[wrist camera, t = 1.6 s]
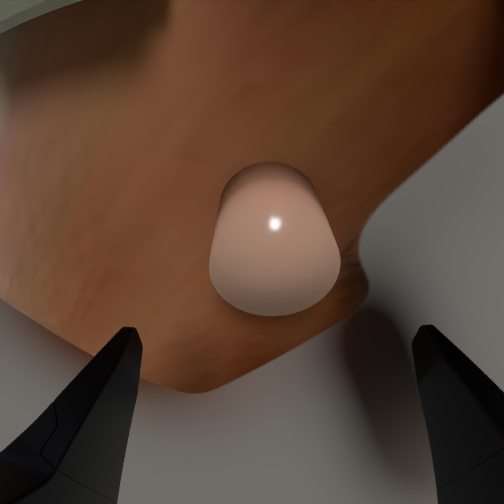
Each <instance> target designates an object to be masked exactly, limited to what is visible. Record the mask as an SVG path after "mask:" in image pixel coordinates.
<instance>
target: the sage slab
mask: <svg viewBox="0 0 504 504" xmlns="http://www.w3.org/2000/svg"><path fill="white" fill-rule="evenodd" d="M79 1H82V0H0V34H1V33H3V32H5V31H7V30H9V29H11V28H13V27H15V26H17V25H20V24H22V23H24V22H26V21H29V20H31V19H33V18H36V17H38V16H40V15H43V14H45V13H48V12H51V11H53V10H56V9H59V8H61V7H64V6H67V5H70V4H73V3H76V2H79Z"/></svg>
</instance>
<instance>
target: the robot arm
mask: <svg viewBox="0 0 504 504" xmlns="http://www.w3.org/2000/svg"><path fill="white" fill-rule="evenodd" d="M142 351H143V347H142V342H141V340H140V337H139V334H138V332H137V329H136V328H134V327H123V328H121V329H120V330H119V331H118V332H117V333H116V334H115V335H114V336H113V338H112V339H111V340H110V341H109V342H108V343H107V344H106V345H105V346H104V347H103V348H102V349H101V350H100V351H99V352H98V353H97V354H96V355H95V356H94V358H93V359H92V360H91V361H90V362H89V363H88V364H87V365H86V366H85V367H84V368H83V369H82V370H81V372H80V373H79V374H78V375H77V376H76V377H75V378H74V379H73V380H72V381H71V382H70V383H69V384H68V386H67V387H66V388H65V389H64V390H63V391H62V392H61V393H60V394H59V395H58V397H57V398H56V399H55V400H54V402H52V403H51V404H50V405H49V406H48V408H47V409H46V410H45V411H44V412H43V413H42V414H41V415H40V416H39V417H38V418H37V419H36V420H35V421H34V422H33V423H32V424H31V425H30V426H29V427H28V428H27V429H26V430H25V431H24V432H23V433H21V435H19V436H18V437H17V438H16V439H15V440H14V441H13V442H12V443H11V444H9V445H8V446H7V447H6V448H5V449H4V450H3V451H1V452H0V504H117V500H118V494H119V487H120V481H121V474H122V469H123V463H124V458H125V452H126V447H127V442H128V437H129V431H130V427H131V422H132V417H133V412H134V408H135V403H136V398H137V393H138V385H139V376H140V367H141V359H142ZM412 353H413V359H414V366H415V372H416V379H417V386H418V391H419V395H420V399H421V403H422V408H423V413H424V417H425V422H426V427H427V432H428V437H429V443H430V449H431V454H432V461H433V467H434V473H435V481H436V488H437V498H438V504H504V392H503V391H502V390H501V389H499V387H498V386H497V385H496V384H495V383H494V382H493V381H492V380H491V379H490V378H489V377H488V376H487V375H486V374H484V372H483V371H482V370H481V369H480V368H478V367H477V365H475V364H474V363H473V362H472V361H471V360H470V359H469V358H468V357H467V356H466V355H465V354H464V353H463V352H462V351H461V350H460V349H458V348H457V347H456V346H455V345H454V344H453V343H452V342H451V341H450V340H449V339H448V338H447V337H446V336H444V335H443V334H442V333H441V332H440V331H439V330H438V329H437V328H436V327H435V326H433V325H422V326H421V327H420V328H419V330H418V332H417V333H416V335H415V337H414V339H413V341H412Z"/></svg>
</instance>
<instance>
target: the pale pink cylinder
mask: <svg viewBox="0 0 504 504" xmlns="http://www.w3.org/2000/svg"><path fill="white" fill-rule="evenodd" d="M339 271H340V253H339V249H338V247H337V244H336V241H335V239H334V236H333V233H332V231H331V228H330V226H329V223H328V221H327V218H326V216H325V213H324V211H323V208H322V206H321V203H320V201H319V198H318V196H317V193H316V191H315V189H314V187H313V185H312V183H311V182H310V180H309V179H308V178H307V177H306V176H305V175H304V174H303V173H302V172H300V171H299V170H297V169H295V168H293V167H292V166H289V165H286V164H282V163H277V162H263V163H257V164H254V165H251V166H248V167H246V168H244V169H242V170H241V171H239V172H238V173H236V174H235V175H234V176H233V177H232V178H231V179H230V180H229V182H228V183H227V184H226V186H225V188H224V190H223V192H222V195H221V199H220V204H219V209H218V215H217V220H216V226H215V231H214V237H213V243H212V248H211V254H210V260H209V273H210V278H211V281H212V284H213V285H214V287H215V289H216V291H217V292H218V293H219V295H220V296H221V297H222V298H223V299H224V300H225V301H227V302H228V303H229V304H231V305H232V306H234V307H236V308H238V309H240V310H242V311H244V312H247V313H251V314H255V315H261V316H283V315H289V314H293V313H296V312H299V311H302V310H304V309H307V308H309V307H311V306H312V305H314V304H316V303H317V302H318V301H320V300H321V299H322V298H323V297H324V296H325V295H326V294H327V293H328V292H329V291H330V290H331V288H332V287H333V285H334V284H335V282H336V280H337V277H338V274H339Z"/></svg>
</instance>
